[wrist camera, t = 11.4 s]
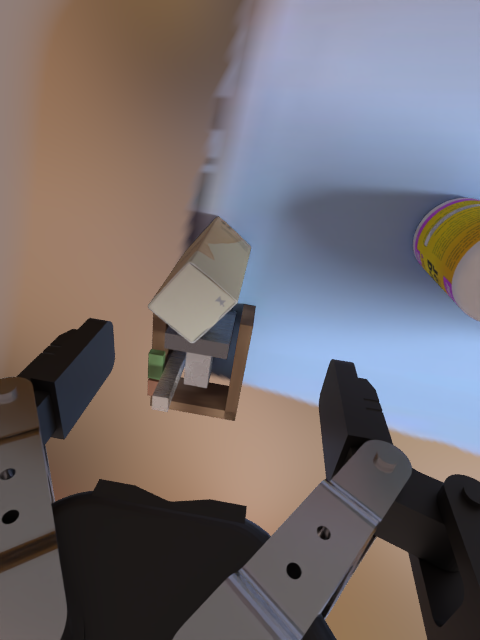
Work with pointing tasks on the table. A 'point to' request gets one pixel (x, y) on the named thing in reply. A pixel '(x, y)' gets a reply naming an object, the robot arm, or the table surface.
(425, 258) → the supplement bottle
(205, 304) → the box
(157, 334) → the brown wooden open box
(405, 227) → the table surface
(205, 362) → the grey blocky piece
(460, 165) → the table surface
